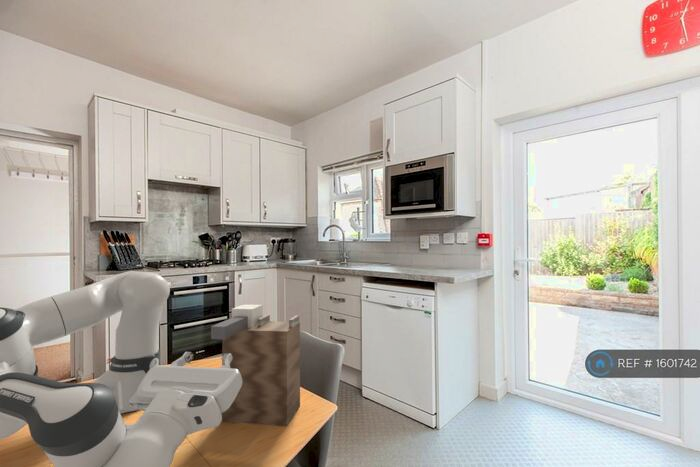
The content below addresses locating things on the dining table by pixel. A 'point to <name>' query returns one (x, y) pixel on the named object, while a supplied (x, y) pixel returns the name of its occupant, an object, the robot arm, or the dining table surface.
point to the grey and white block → (237, 321)
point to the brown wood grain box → (265, 372)
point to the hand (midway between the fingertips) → (209, 354)
